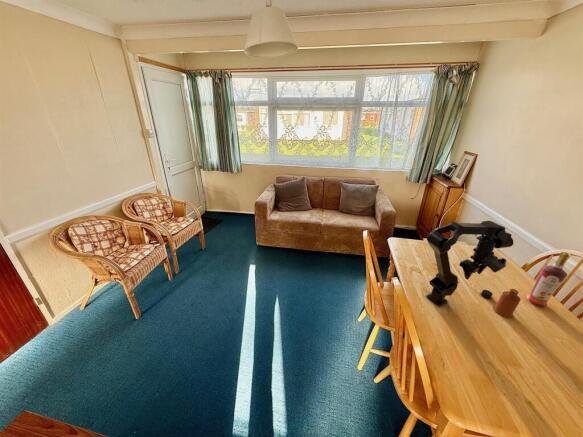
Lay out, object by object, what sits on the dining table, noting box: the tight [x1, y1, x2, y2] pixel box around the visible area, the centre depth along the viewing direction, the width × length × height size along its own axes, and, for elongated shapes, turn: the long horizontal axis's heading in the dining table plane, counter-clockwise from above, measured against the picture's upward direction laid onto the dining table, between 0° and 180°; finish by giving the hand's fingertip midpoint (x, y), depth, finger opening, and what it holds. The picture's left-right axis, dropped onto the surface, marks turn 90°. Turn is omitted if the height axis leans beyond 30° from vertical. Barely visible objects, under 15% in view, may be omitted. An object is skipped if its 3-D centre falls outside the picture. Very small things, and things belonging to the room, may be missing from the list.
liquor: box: [526, 251, 571, 307], centre depth 102 cm, size 7×7×28 cm
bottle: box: [493, 288, 522, 318], centre depth 101 cm, size 6×6×13 cm
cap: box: [480, 289, 494, 300], centre depth 112 cm, size 4×4×2 cm
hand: (472, 276), depth 108 cm, fingers open, 9 cm apart
